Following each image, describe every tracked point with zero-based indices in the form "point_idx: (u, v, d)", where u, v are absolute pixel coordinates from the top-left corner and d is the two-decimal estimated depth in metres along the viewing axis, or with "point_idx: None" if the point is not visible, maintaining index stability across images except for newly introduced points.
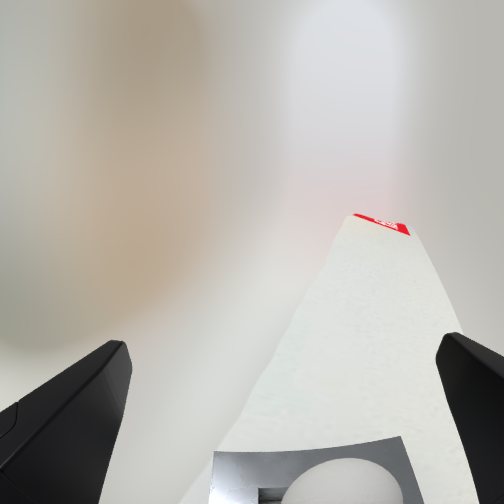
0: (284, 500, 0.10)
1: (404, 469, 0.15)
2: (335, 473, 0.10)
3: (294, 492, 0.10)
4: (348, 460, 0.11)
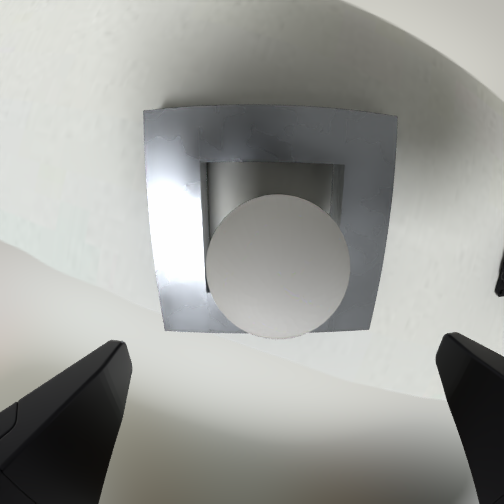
0: None
1: (200, 117, 0.15)
2: (247, 315, 0.11)
3: None
4: (224, 287, 0.11)
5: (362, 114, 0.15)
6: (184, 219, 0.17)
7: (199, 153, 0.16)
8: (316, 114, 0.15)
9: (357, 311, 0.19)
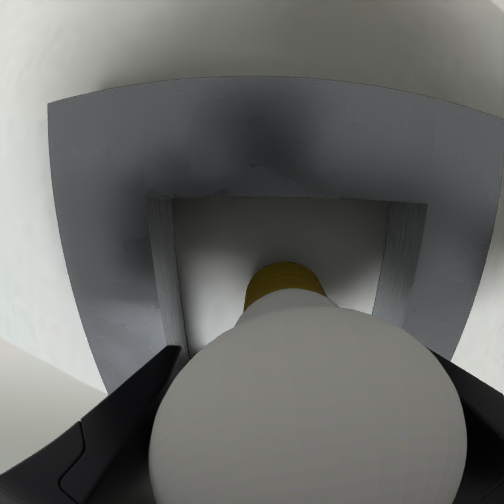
0: None
1: (144, 106, 0.07)
2: None
3: None
4: None
5: (459, 110, 0.07)
6: (128, 301, 0.09)
7: (146, 179, 0.08)
8: (384, 102, 0.07)
9: None
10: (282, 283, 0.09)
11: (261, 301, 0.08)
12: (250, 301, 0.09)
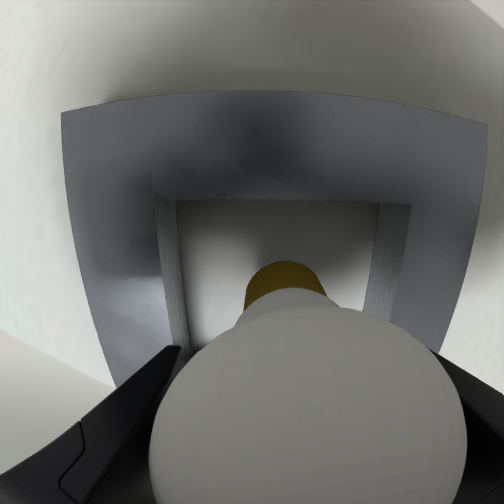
0: None
1: (152, 118, 0.08)
2: None
3: None
4: None
5: (441, 117, 0.07)
6: (136, 295, 0.10)
7: (154, 183, 0.08)
8: (369, 112, 0.08)
9: None
10: (282, 283, 0.09)
11: (261, 301, 0.08)
12: (250, 300, 0.09)
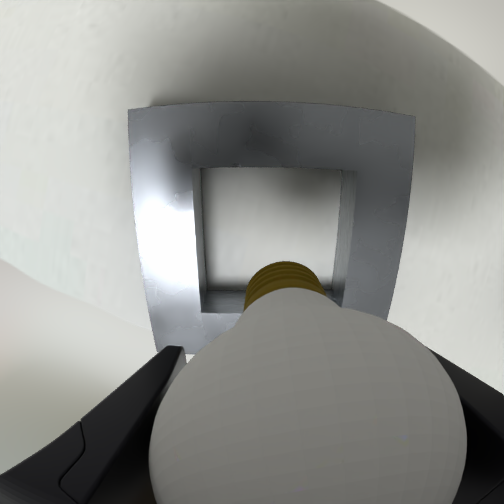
0: None
1: (192, 116, 0.13)
2: None
3: None
4: None
5: (377, 113, 0.13)
6: (175, 232, 0.15)
7: (192, 157, 0.14)
8: (326, 113, 0.13)
9: None
10: (282, 283, 0.09)
11: (261, 300, 0.08)
12: (250, 300, 0.09)
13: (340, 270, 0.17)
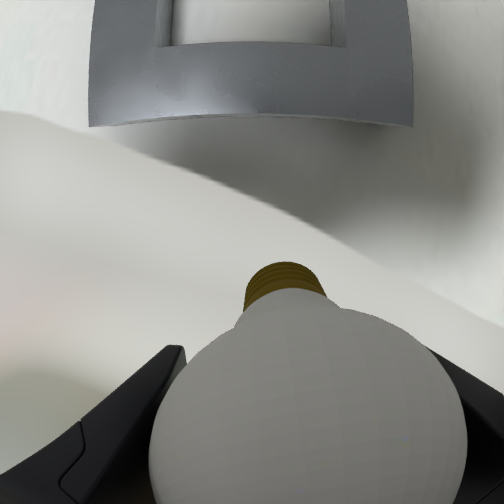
0: None
1: None
2: None
3: None
4: None
5: None
6: None
7: None
8: None
9: (390, 88, 0.10)
10: (282, 283, 0.09)
11: (261, 301, 0.08)
12: (250, 301, 0.09)
13: (337, 16, 0.10)
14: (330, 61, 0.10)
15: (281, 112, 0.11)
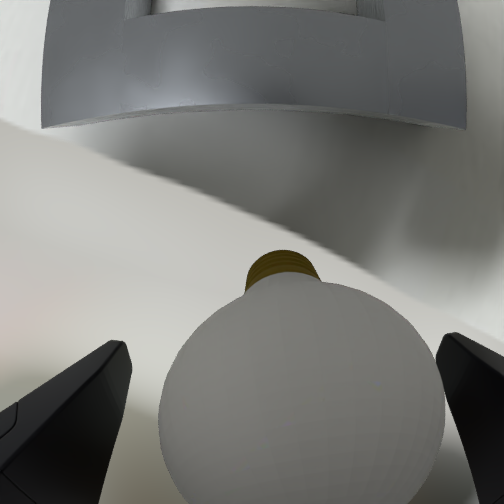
0: None
1: None
2: None
3: None
4: None
5: None
6: None
7: None
8: None
9: (440, 77, 0.07)
10: (279, 268, 0.10)
11: (260, 282, 0.08)
12: (250, 284, 0.10)
13: None
14: (364, 36, 0.07)
15: (298, 103, 0.08)
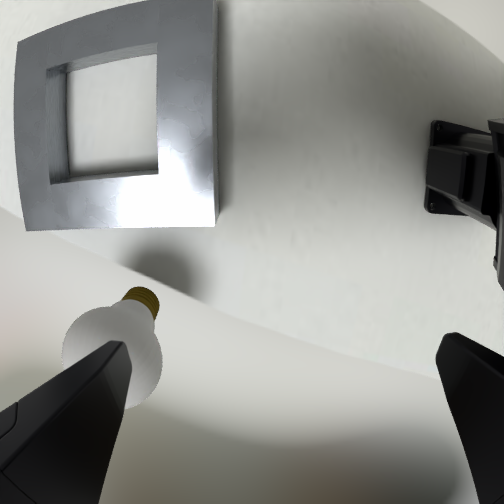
0: None
1: (49, 36, 0.12)
2: None
3: None
4: None
5: None
6: (34, 118, 0.14)
7: (47, 62, 0.13)
8: (133, 8, 0.12)
9: (193, 199, 0.17)
10: (128, 297, 0.19)
11: None
12: None
13: None
14: (147, 187, 0.16)
15: (121, 226, 0.17)
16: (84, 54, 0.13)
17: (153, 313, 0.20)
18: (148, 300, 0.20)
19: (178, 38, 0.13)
